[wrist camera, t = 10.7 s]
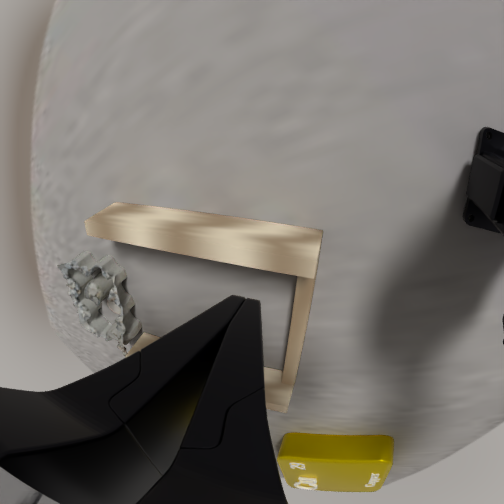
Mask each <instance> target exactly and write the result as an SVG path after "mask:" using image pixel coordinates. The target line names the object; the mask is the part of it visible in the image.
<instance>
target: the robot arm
mask: <svg viewBox="0 0 504 504" xmlns="http://www.w3.org/2000/svg"><path fill="white" fill-rule="evenodd" d="M487 132H489V133H490V137H489V138H488V139H487V137H486V133H487ZM466 194H467V196H468V198H467V202H466V205H465V209H464V213H463V220H464V221H465V222H466V224H468V225H470V226H474V227H478V228H482V229H486V230H490V231H494V232H498V233H501V234H502V235H503V236H504V133H502V132H500V131H497V130H494V129H492V128H489V127H484V128H482V129H481V132H480V138H479V145H478V151H477V155H476V156H474V159H473V164H472V169H471V174H470V179H469V183H468V188H467V192H466ZM469 215H472V218H471V219H468V216H469ZM503 329H504V315H503ZM503 344H504V340H503ZM0 504H288V502H287V500H286V497H285V494H284V491H283V487H282V483H281V479H280V475H279V471H278V467H277V462H276V458H275V454H274V449H273V445H272V441H271V436H270V431H269V425H268V420H267V410H266V398H265V380H264V361H263V341H262V322H261V304H260V301H259V300H255V299H250V298H247V299H245V298H244V297H241V296H236V295H231V296H229V297H228V298H226V299H224V300H223V301H221V302H219V303H218V304H216V305H214V306H213V307H211V308H210V309H208V310H206V311H205V312H203V313H201V314H200V315H198V316H196V317H195V318H193V319H191V320H190V321H188V322H186V323H185V324H183V325H181V326H180V327H178V328H176V329H174V330H173V331H171V332H169V333H168V334H166V335H164V336H163V337H161V338H159V339H158V340H156V341H154V342H152V343H151V344H149V345H147V346H146V347H144V348H142V349H141V351H137V352H135V353H133V354H132V355H130V356H128V357H126V358H124V359H123V360H121V361H119V362H117V363H115V364H113V365H111V366H109V367H107V368H105V369H103V370H101V371H98V372H96V373H94V374H92V375H89V376H87V377H85V378H82V379H80V380H78V381H75V382H73V383H71V384H68V385H66V386H63V387H61V388H58V389H55V390H51V391H45V392H33V391H24V390H16V389H9V388H2V387H0Z"/></svg>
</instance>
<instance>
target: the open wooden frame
mask: <svg viewBox="0 0 504 504" xmlns="http://www.w3.org/2000/svg"><path fill="white" fill-rule="evenodd" d="M84 223H85V227H86V232H87V235H88V236H93V237H98V238H103V239H108V240H112V241H117V242H122V243H127V244H132V245H137V246H142V247H147V248H152V249H157V250H162V251H167V252H172V253H178V254H183V255H188V256H193V257H198V258H203V259H209V260H214V261H219V262H224V263H230V264H235V265H240V266H246V267H251V268H257V269H262V270H267V271H273V272H278V273H284V274H289V275H295V276H297V284H296V291H295V298H294V306H293V313H292V319H291V326H290V333H289V339H288V346H287V352H286V358H285V364H284V370H283V371H281V370H277V369H272V368H268V367H264V380H265V398H266V409H270V410H274V411H279V412H283V413H287V410H288V406H289V402H290V399H291V395H292V391H293V387H294V384H295V380H296V375H297V371H298V366H299V362H300V357H301V353H302V348H303V343H304V338H305V333H306V328H307V323H308V318H309V313H310V307H311V302H312V296H313V291H314V285H315V279H316V273H317V267H318V261H319V255H320V249H321V242H322V235H323V230H317V229H311V228H305V227H299V226H292V225H286V224H279V223H273V222H266V221H259V220H252V219H246V218H239V217H231V216H224V215H217V214H210V213H202V212H194V211H187V210H179V209H171V208H163V207H154V206H146V205H137V204H128V203H119V202H115V203H113V204H112V205H110V206H108V207H107V208H105V209H103V210H102V211H100V212H98V213H97V214H95V215H93V216H92V217H90V218H89V219H87V220H85V221H84ZM159 338H160V337H157V336H154V335H151V334H148V333H145V332H144V333H143V334H142V335H141V337H140V338H139V339H138V341H137V342H136V343H135V344H134V346H133V347H132V348H131V349H130V351H129V352H128V353H127V355H126V356H125V357H128V356H130V355H132V354H133V353H135V352H137V351H141V349H142V348H144V347H146V346H147V345H149V344H151V343H152V342H154V341H156V340H158V339H159Z"/></svg>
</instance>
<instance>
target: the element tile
mask: <svg viewBox="0 0 504 504" xmlns="http://www.w3.org/2000/svg"><path fill="white" fill-rule="evenodd" d="M393 451H394V439H393V437H390V436H386V435H326V434H309V433H287V434H285V435H284V437H283V440H282V443H281V447H280V450H279V453H278V457H277V462H278V464H279V466H280V469H281V471H282V473H283V475H284V478H285V480H286V482H287V484H288V485H290V486H291V487H293V488H299V489H307V490H321V491H338V492H374V491H377V490H379V489H380V488H381V487H382V485H383V483H384V481H385V479H386V477H387V475H388V473H389V471H390V469H391V467H392V465H393Z"/></svg>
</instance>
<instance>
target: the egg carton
mask: <svg viewBox="0 0 504 504" xmlns="http://www.w3.org/2000/svg"><path fill="white" fill-rule="evenodd" d="M57 266H58V268H59V269H60V270H61V272H62V273H63V276H64V278H65V279H66V280H67V286H68V287H69V291H68V294H69V295H70V296H71V298H72V300H73V303H74V306H75V307H76V309H77V313H78V318H79V322H80V324H81V326H82V327H83V328H85V329H86V330H87V331H89V332H91V333H94V334H96V335H97V337H100V336H101V337H104V338H106V339H105V340H106V341H110V340H112V339H115V340H118V341H119V342H118V343H119V344H118V345H117V348H118V349H120V350H122V352H123V355H124V356H126V355H127V352H126V348H125V347H124V345H127V344H128V343H129V341H130V340H131V339H132V338H134V337H135V336H136V335H137V334H138V332H139V331H140V329H141V327H142V325H141V322H140V320H138V319H136V318H135V317H134V316H133V315H132V313H131V312H130V309H131V308H132V307H133V306H134V305H135V303H134V300H133V298H132V296H131V295H129V294H128V293H127V292H126V291H125V290H124V288H123V287H122V281H123V280H124V279H126V278H127V274H126V271H125V269H124V268H123V267H121V266H120V265H118V263H117V262H116V260H115V258H114V257H113V256H110V255H106V256H105V257H104V258H103V259H101V260H100V261H99V262H97V261H96V260H95V258H94V257H93V256H92V254H91V252H88V251H84V252H83V253H82V254H80V255H79V256H78V257H76V258H75V259H73V260H72V261H71V262H69V263H66V264H61V265H57ZM98 268H101V270H102V272H101V273H99V274H98V275H97V276H96V277H95V278H93V277H92V275H91V274H92V273H93V272H94V271H95V270H97V269H98ZM107 295H109V297H108V300H107V305H108V307H109V308H110V310H112V311H113V312H114V313H116V314H121V315H120V316H119V317H118V318H116V320H115V323H114V324H110V323H109V322H108V320H107V319H106V318H105V317H104V316H103V315H101V314H100V313H99V311H98V310H99V309H100V308H101V306H102V303H101V302H102V300H104V299H105V298H106V296H107Z"/></svg>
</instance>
